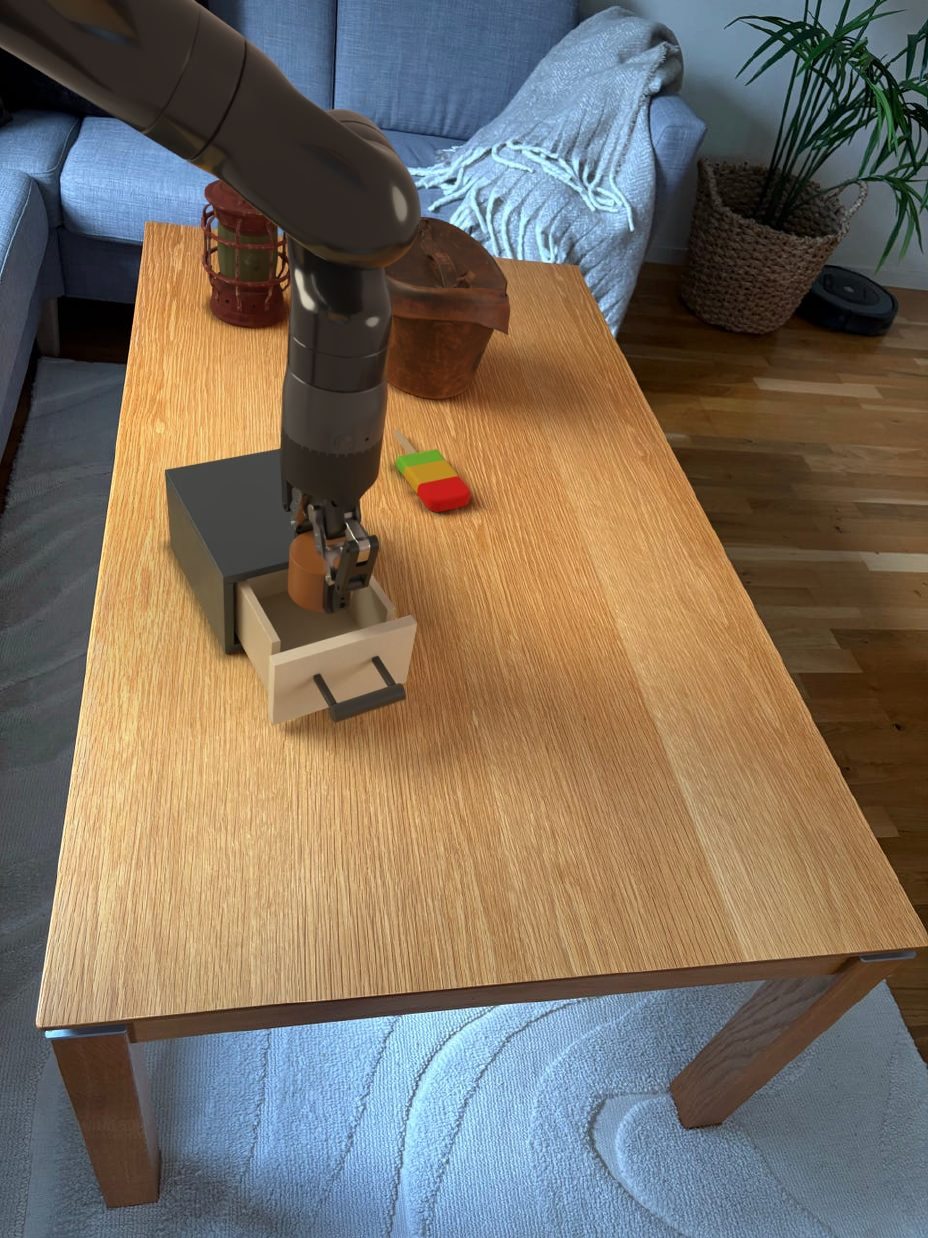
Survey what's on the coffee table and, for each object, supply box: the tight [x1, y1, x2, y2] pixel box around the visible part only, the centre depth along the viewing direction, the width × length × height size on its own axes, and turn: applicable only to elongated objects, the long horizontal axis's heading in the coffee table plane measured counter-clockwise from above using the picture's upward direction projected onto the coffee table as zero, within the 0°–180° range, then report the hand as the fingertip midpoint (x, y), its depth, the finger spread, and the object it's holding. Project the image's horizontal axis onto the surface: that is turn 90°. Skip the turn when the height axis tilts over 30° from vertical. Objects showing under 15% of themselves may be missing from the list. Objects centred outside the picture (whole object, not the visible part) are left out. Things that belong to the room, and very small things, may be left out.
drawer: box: [233, 569, 418, 726], centre depth 83 cm, size 20×13×8 cm
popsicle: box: [392, 429, 471, 513], centre depth 110 cm, size 6×15×2 cm, turn 29°
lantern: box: [200, 179, 291, 329], centre depth 119 cm, size 12×12×30 cm
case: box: [385, 216, 511, 400], centre depth 119 cm, size 18×20×18 cm
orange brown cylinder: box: [288, 530, 353, 612], centre depth 78 cm, size 6×6×4 cm
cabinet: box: [164, 448, 370, 655], centre depth 90 cm, size 16×14×10 cm
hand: (320, 584), depth 79 cm, fingers closed on orange brown cylinder, 5 cm apart
